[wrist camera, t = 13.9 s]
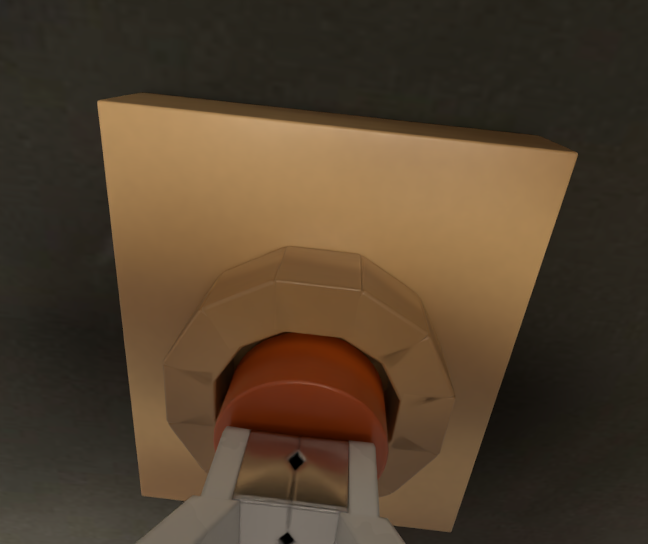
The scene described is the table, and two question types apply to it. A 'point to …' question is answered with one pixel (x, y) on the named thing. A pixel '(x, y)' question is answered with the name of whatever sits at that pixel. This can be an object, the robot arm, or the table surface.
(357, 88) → the table surface
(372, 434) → the red button
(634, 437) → the table surface
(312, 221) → the button block
